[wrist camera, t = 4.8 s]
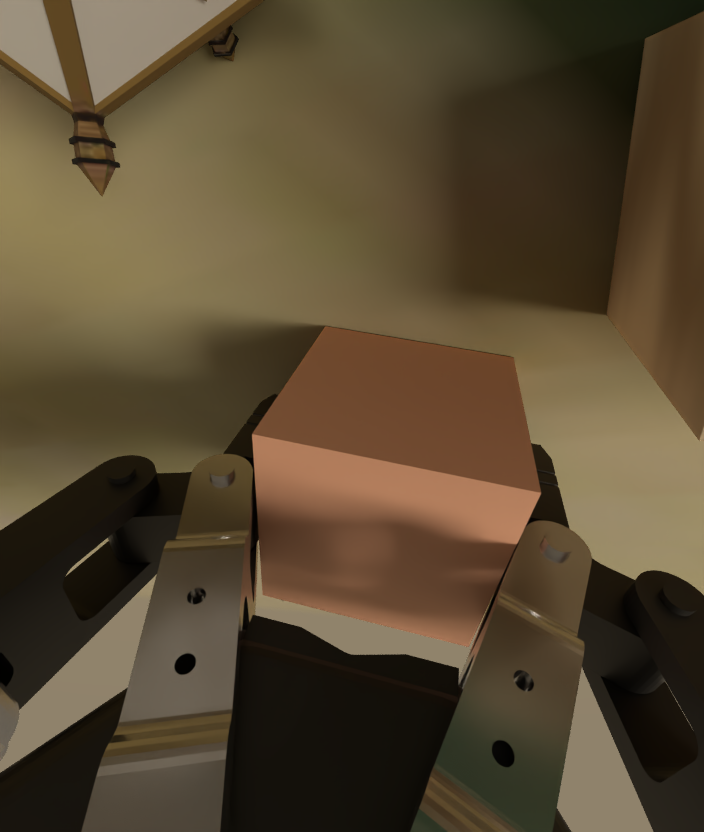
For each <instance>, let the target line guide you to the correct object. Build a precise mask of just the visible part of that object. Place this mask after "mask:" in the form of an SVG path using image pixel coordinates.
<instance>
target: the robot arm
mask: <svg viewBox="0 0 704 832" xmlns="http://www.w3.org/2000/svg"><path fill="white" fill-rule="evenodd" d="M277 397H278V395H276V394H274V395H272V396H270V397H269V398H267V399H265V400H264V401H262V402H261V403H260V404H259V405H258V407H257V408H256V410H255V411H254V412H253V415H251V416H250V418H249V419H248V421H247V423H246V424H245V425H244V426H243V427H242V429H241V430H240V432H239V433H238V434H237V436H236V437H235V438H234V440H233V441H232V443H231V444H230V445H229V447H228V448H227V449H226V451H225V452H224V454H219V455H214V456H211V457H208V458H206V459H204V460H202V461H201V462H200V463H198V464H197V465H196V466H195V467H194V469H193V470H192V472H186V473H158V474H157V473H156V469H155V465H154V464H153V462H152V461H151V460H149V459H147V458H145V457H142V456H135V455H129V456H121V457H117V458H114V459H111V460H108V461H106V462H104V463H102V464H101V465H99V466H98V467H96V468H95V469H93V470H92V471H90V472H89V473H87V474H85V475H84V476H82V477H81V478H79V479H78V480H76V481H75V482H73V483H72V484H70V485H69V486H67V487H66V488H64V489H63V490H61V491H60V492H58V493H57V494H55V495H54V496H52V497H51V498H49V499H48V500H46V501H45V502H43V503H41V504H40V505H38V506H37V507H35V508H34V509H32V510H31V511H29V512H28V513H26V514H25V515H23V516H22V517H20V518H19V519H17V520H16V521H14V522H13V523H11V524H10V525H8V526H7V527H5V528H4V529H2V530H1V531H0V760H1V759H2V758H3V756H4V755H5V753H6V751H7V748H8V742H9V741H10V739H11V737H12V735H13V733H14V731H15V729H16V726H17V723H18V719H19V710H20V709H21V708H22V707H23V706H24V705H25V704H26V703H27V702H28V701H29V700H30V699H31V698H32V697H33V696H34V695H35V694H36V693H37V692H38V691H39V690H40V689H41V688H42V687H43V686H44V685H45V684H46V683H47V682H48V681H49V680H50V679H51V678H52V677H53V676H54V675H55V674H56V673H57V672H58V671H59V670H60V669H61V668H62V667H63V666H64V665H65V664H66V663H67V662H68V661H69V660H70V659H71V658H72V657H73V656H74V655H75V654H76V653H77V652H78V651H79V650H80V649H81V648H82V647H83V646H84V645H85V644H86V643H87V642H88V641H89V640H90V639H91V638H92V637H93V636H94V635H95V634H96V633H97V632H98V631H99V630H100V629H102V628H103V627H104V626H105V625H106V624H107V623H108V622H109V621H110V620H111V619H112V618H113V617H114V616H115V615H116V614H117V613H118V612H119V611H120V610H121V609H122V608H123V607H124V606H125V605H126V604H127V603H128V602H129V601H130V600H131V599H132V598H133V597H134V596H135V595H136V594H137V593H138V592H139V591H140V590H141V589H142V588H143V587H144V586H145V585H146V584H147V583H148V582H149V581H150V580H151V579H152V578H153V577H154V576H155V575H156V574H157V576H156V580H155V584H154V588H153V591H152V595H151V599H150V603H149V608H148V611H147V615H146V619H145V623H144V626H143V630H142V635H141V638H140V642H139V646H138V650H137V654H136V658H135V661H134V666H133V669H132V673H131V677H130V681H129V685H128V688H126V689H125V690H123V691H122V692H120V693H119V694H117V695H116V696H114V697H113V698H111V699H110V700H108V701H107V702H105V703H104V704H102V705H101V706H100V707H98V708H97V709H95V710H94V711H92V712H91V713H89V714H88V715H86V716H84V717H83V718H82V719H80V720H79V721H77V722H76V723H74V724H73V725H71V726H70V727H68V728H67V729H65V730H64V731H62V732H61V733H59V734H58V735H56V736H55V737H53V738H52V739H50V740H49V741H48V742H46V743H44V744H43V745H41V746H40V747H38V748H37V749H35V750H34V751H32V752H31V753H29V754H28V755H26V756H25V757H23V758H22V759H20V760H19V761H17V762H16V763H14V764H13V765H11V766H10V767H9V768H7V769H6V770H4V771H2V772H1V773H0V832H571V830H570V829H569V827H568V825H567V824H566V822H565V821H564V819H563V817H562V816H561V814H560V812H559V811H558V809H557V803H558V797H559V792H560V786H561V780H562V775H563V769H564V763H565V758H566V752H567V747H568V741H569V735H570V730H571V724H572V718H573V712H574V706H575V701H576V696H577V690H578V685H579V679H580V673H581V668H582V667H583V670H584V673H585V675H586V677H587V679H588V682H589V684H590V687H591V689H592V691H593V693H594V696H595V698H596V700H597V702H598V705H599V707H600V710H601V712H602V714H603V716H604V719H605V721H606V723H607V726H608V728H609V730H610V732H611V735H612V737H613V739H614V742H615V744H616V746H617V749H618V751H619V753H620V755H621V758H622V760H623V762H624V765H625V767H626V769H627V771H628V774H629V776H630V779H631V781H632V783H633V785H634V788H635V790H636V792H637V794H638V797H639V799H640V802H641V804H642V806H643V808H644V811H645V813H646V815H647V818H648V820H649V822H650V824H651V827H652V829H653V831H654V832H704V595H703V594H702V593H701V592H700V591H698V590H697V589H696V588H695V587H693V586H692V585H691V584H689V583H688V582H686V581H684V580H683V579H681V578H679V577H677V576H675V575H672V574H669V573H666V572H662V571H655V570H653V571H646V572H643V573H641V574H640V575H639V576H638V577H637V579H636V580H633V579H631V578H629V577H627V576H625V575H623V574H621V573H618V572H616V571H614V570H612V569H610V568H608V567H606V566H604V565H602V564H600V563H598V562H597V561H595V560H594V559H592V557H591V553H590V550H589V548H588V546H587V545H586V543H585V542H584V541H583V540H582V539H581V538H580V537H579V536H578V535H577V534H576V533H575V532H573V531H572V530H570V529H569V525H568V521H567V517H566V513H565V509H564V505H563V502H562V498H561V494H560V490H559V488H558V482H557V478H556V476H555V470H554V467H553V463H552V459H551V458H550V456H549V455H548V454H547V453H546V451H545V450H544V449H543V448H542V447H541V445H537V444H532V443H531V446H532V450H533V455H534V460H535V465H536V470H537V475H538V480H539V485H540V489H541V495H540V497H539V499H538V501H537V503H536V505H535V507H534V509H533V512H532V514H531V516H530V518H529V520H528V522H527V524H526V526H525V529H524V531H523V533H522V535H521V537H520V539H519V541H518V543H517V546H516V548H515V550H514V552H513V554H512V556H511V558H510V560H509V562H508V565H507V567H506V569H505V571H504V573H503V575H502V577H501V579H500V582H499V584H498V586H497V588H496V590H495V592H494V594H493V596H492V599H491V601H490V603H489V605H488V608H487V610H486V613H485V615H484V618H483V620H482V623H481V625H480V628H479V630H478V633H477V635H476V638H475V640H474V643H473V645H472V648H471V650H470V653H469V655H468V657H467V660H466V663H465V665H464V667H463V670H462V672H461V674H460V677H459V668H456V667H452V666H448V665H444V664H440V663H436V662H433V661H429V660H425V659H421V658H417V657H413V656H410V655H406V654H405V655H404V654H403V655H402V654H401V655H351V654H348V653H345V652H343V651H342V650H340V649H338V648H336V647H334V646H333V645H331V644H329V643H328V642H326V641H324V640H322V639H321V638H319V637H317V636H316V635H313V634H312V633H310V632H309V631H307V630H305V629H303V628H302V627H298V626H294V625H290V624H287V623H283V622H279V621H275V620H271V619H268V618H264V617H260V616H256V615H255V606H256V584H257V561H258V540H259V531H258V516H257V501H256V486H255V471H254V457H253V442H252V433H253V432H254V430H255V429H256V427H257V426H258V425H259V423H260V422H261V420H262V419H263V417H264V416H265V414H266V413H267V411H268V410H269V408H270V407H271V405H272V404H273V402H274V401H275V399H276V398H277ZM107 538H108V539H109V541H108V542H107V543H106V544H104V545H103V546H102V547H101V548H100V549H98V550H97V551H96V552H95V553H94V554H92V555H91V556H90V557H89V558H87V559H86V560H85V561H84V562H83V563H81V564H80V565H79V566H78V567H77V568H75V569H74V570H73V571H72V572H70V573H69V574H68V575H67V576H66V574H67V573H68V571H69V570H70V569H71V568H72V567H73V566H74V565H75V564H76V563H77V562H78V561H80V560H81V559H82V558H83V557H84V556H86V555H87V554H88V553H89V552H91V551H92V550H93V549H94V548H96V547H97V546H98V545H99V544H100V543H102V542H103V541H104V540H105V539H107ZM65 576H66V577H65ZM665 681H666V682H665ZM666 683H667V684H668V686H669V687H668V686H667V684H666ZM669 688H670V689H669ZM670 690H671V691H672V693H673V694H672V693H671V691H670ZM673 695H674V696H673ZM674 697H675V698H676V700H677V701H678V703H677V702H676V700H675V698H674ZM678 704H679V705H680V707H681V709H682V710H681V709H680V707H679V705H678ZM682 711H683V712H684V714H685V716H686V717H685V716H684V714H683V712H682ZM686 718H687V719H688V721H689V723H690V724H691V726H690V724H689V723H688V721H687V719H686ZM691 727H692V728H691ZM692 729H693V730H692Z"/></svg>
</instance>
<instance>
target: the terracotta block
mask: <svg viewBox="0 0 704 832" xmlns="http://www.w3.org/2000/svg"><path fill="white" fill-rule="evenodd" d="M252 442H253V457H254V471H255V486H256V501H257V516H258V531H259V546H260V561H261V576H262V590H263V595H265V596H269V597H273V598H277V599H281V600H285V601H289V602H293V603H297V604H300V605H304V606H308V607H312V608H316V609H320V610H324V611H328V612H332V613H336V614H340V615H344V616H348V617H352V618H356V619H360V620H364V621H368V622H372V623H376V624H379V625H384V626H387V627H391V628H395V629H399V630H403V631H407V632H411V633H415V634H419V635H423V636H427V637H431V638H435V639H439V640H443V641H447V642H451V643H455V644H459V645H463V646H466V647H469V645H470V643H471V641H472V639H473V637H474V635H475V632H476V630H477V628H478V626H479V624H480V622H481V620H482V618H483V615H484V613H485V611H486V609H487V607H488V605H489V603H490V601H491V599H492V596H493V594H494V592H495V590H496V588H497V586H498V584H499V582H500V579H501V577H502V575H503V573H504V571H505V569H506V567H507V565H508V562H509V560H510V558H511V556H512V554H513V552H514V550H515V548H516V546H517V543H518V541H519V539H520V537H521V535H522V533H523V531H524V529H525V526H526V524H527V522H528V520H529V518H530V516H531V514H532V512H533V509H534V507H535V505H536V503H537V501H538V499H539V497H540V495H541V489H540V485H539V480H538V475H537V470H536V465H535V460H534V455H533V450H532V446H531V441H530V436H529V431H528V426H527V421H526V416H525V412H524V407H523V402H522V397H521V392H520V387H519V382H518V377H517V373H516V368H515V363H514V358H513V357H507V356H501V355H495V354H489V353H483V352H477V351H471V350H465V349H459V348H453V347H447V346H441V345H435V344H429V343H423V342H417V341H411V340H405V339H399V338H393V337H387V336H381V335H375V334H369V333H363V332H357V331H351V330H345V329H339V328H333V327H327V326H325V327H324V329H323V330H322V332H321V333H320V335H319V336H318V338H317V339H316V341H315V342H314V344H313V345H312V347H311V348H310V349H309V351H308V352H307V354H306V355H305V357H304V358H303V360H302V361H301V363H300V364H299V366H298V367H297V369H296V370H295V372H294V373H293V374H292V376H291V377H290V379H289V380H288V382H287V383H286V385H285V386H284V388H283V389H282V391H281V392H280V394H279V395H278V397H277V398H276V399H275V401H274V402H273V404H272V405H271V407H270V408H269V410H268V411H267V413H266V414H265V416H264V417H263V419H262V420H261V422H260V423H259V425H258V426H257V427H256V429H255V430H254V432H253V433H252Z"/></svg>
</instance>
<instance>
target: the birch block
mask: <svg viewBox="0 0 704 832" xmlns="http://www.w3.org/2000/svg"><path fill="white" fill-rule="evenodd" d="M607 316H608V318H609V319H610V320H611V322H612V323H613V324H614V326H615V327H616V328H617V330H618V331H619V332H620V334H621V335H622V337H623V338H624V339H625V341H626V342H627V343H628V345H629V346H630V347H631V349H632V350H633V351H634V353H635V354H636V356H637V357H638V358H639V360H640V361H641V362H642V364H643V365H644V366H645V368H646V369H647V370H648V372H649V373H650V375H651V376H652V377H653V379H654V380H655V381H656V383H657V384H658V385H659V387H660V388H661V389H662V391H663V392H664V394H665V395H666V396H667V398H668V399H669V400H670V402H671V403H672V404H673V406H674V407H675V408H676V410H677V411H678V413H679V414H680V415H681V417H682V418H683V419H684V421H685V422H686V423H687V425H688V426H689V427H690V429H691V430H692V432H693V433H694V434H695V436H696V437H697V438H698V440H699V441H704V11H703V12H701V13H699V14H697V15H695V16H692V17H690V18H688V19H686V20H684V21H682V22H679V23H677V24H675V25H673V26H671V27H669V28H667V29H664V30H662V31H660V32H658V33H656V34H654V35H651V36H649V37H647V38H645V43H644V50H643V57H642V65H641V72H640V79H639V86H638V93H637V100H636V108H635V115H634V122H633V129H632V136H631V144H630V151H629V158H628V165H627V172H626V179H625V187H624V194H623V201H622V208H621V215H620V222H619V230H618V237H617V244H616V251H615V258H614V266H613V273H612V280H611V287H610V294H609V301H608V309H607Z"/></svg>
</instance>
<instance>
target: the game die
mask: <svg viewBox="0 0 704 832" xmlns="http://www.w3.org/2000/svg"><path fill="white" fill-rule="evenodd" d="M263 1H264V0H0V64H1V65H2V66H4V67H5V68H7V69H8V70H9V71H11V72H12V73H14V74H15V75H16V76H18V77H19V78H21V79H22V80H23V81H25V82H26V83H28V84H29V85H30V86H32V87H33V88H35V89H36V90H37V91H39V92H40V93H42V94H43V95H44V96H46V97H47V98H49V99H50V100H51V101H53V102H54V103H56V104H57V105H58V106H60V107H61V108H63V109H64V110H65V111H67V112H68V113H70V114H71V115H72V117H73V120H74V123H75V124H74V134H73V137H71V138H70V139H69V143H70V144H73V145H74V150H75V156H76V158H75V159H72V164H76V165H78V166H79V168H80V169H81V170H82V171H83V173H84V174H85V175H86V177H87V178H88V179H89V180H90V182H91V183H92V184H93V186H94V187H95V188H96V190H97V191H98V192H99V193H100V195H101V196H103V194H104V192H105V189H106V187H107V185H108V183H109V181H110V179H111V177H112V175H113V172H114V170H115V168H120V164H119V163H118V162H115V159H114V154H113V150H112V148H116V146H115V143H114V142H112V141H110V140H109V137H108V135H107V133H106V131H105V129H104V126H103V125H104V118H105V117H106V116H108V115H109V114H110V113H112V112H113V111H114V110H116V109H117V108H119V107H120V106H121V105H123V104H124V103H125V102H127V101H128V100H129V99H131V98H132V97H134V96H135V95H136V94H138V93H139V92H140V91H142V90H143V89H144V88H146V87H147V86H149V85H150V84H151V83H153V82H154V81H155V80H157V79H158V78H159V77H161V76H162V75H164V74H165V73H166V72H168V71H169V70H170V69H172V68H173V67H174V66H176V65H177V64H178V63H180V62H181V61H183V60H184V59H185V58H187V57H188V56H189V55H191V54H192V53H193V52H195V51H196V50H198V49H199V48H200V47H202V46H203V45H204V44H206V43H207V42H208V43H209V45H212V48H213V54H214V56H215V57H220V56H222V57H224V58H226V59H229V60H231V61H233V60H234V53H235V47H236V45H237V42H238V40H239V39H238V37H237V36H236V35H235V34H233V33H232V29H233V28H232V26H231V25H232V24H233V23H234V22H236V21H237V20H238V19H240V18H241V17H242V16H244V15H245V14H247V13H248V12H249V11H251V10H252V9H253V8H255V7H256V6H257V5H259V4H260V3H262V2H263Z"/></svg>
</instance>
